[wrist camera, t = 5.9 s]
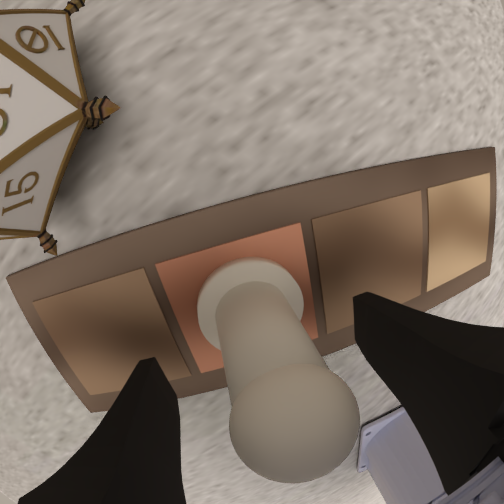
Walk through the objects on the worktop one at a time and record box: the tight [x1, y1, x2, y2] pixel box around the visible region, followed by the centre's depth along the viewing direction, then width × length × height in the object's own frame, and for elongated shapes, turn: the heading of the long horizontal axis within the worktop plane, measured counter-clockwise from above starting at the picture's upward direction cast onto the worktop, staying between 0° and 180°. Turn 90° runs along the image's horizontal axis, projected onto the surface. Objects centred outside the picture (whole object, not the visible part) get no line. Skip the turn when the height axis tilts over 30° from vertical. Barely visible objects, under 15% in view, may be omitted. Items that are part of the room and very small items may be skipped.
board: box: [6, 147, 496, 413], centre depth 13 cm, size 9×28×1 cm, turn 103°
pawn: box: [197, 257, 360, 483], centre depth 9 cm, size 4×4×8 cm
